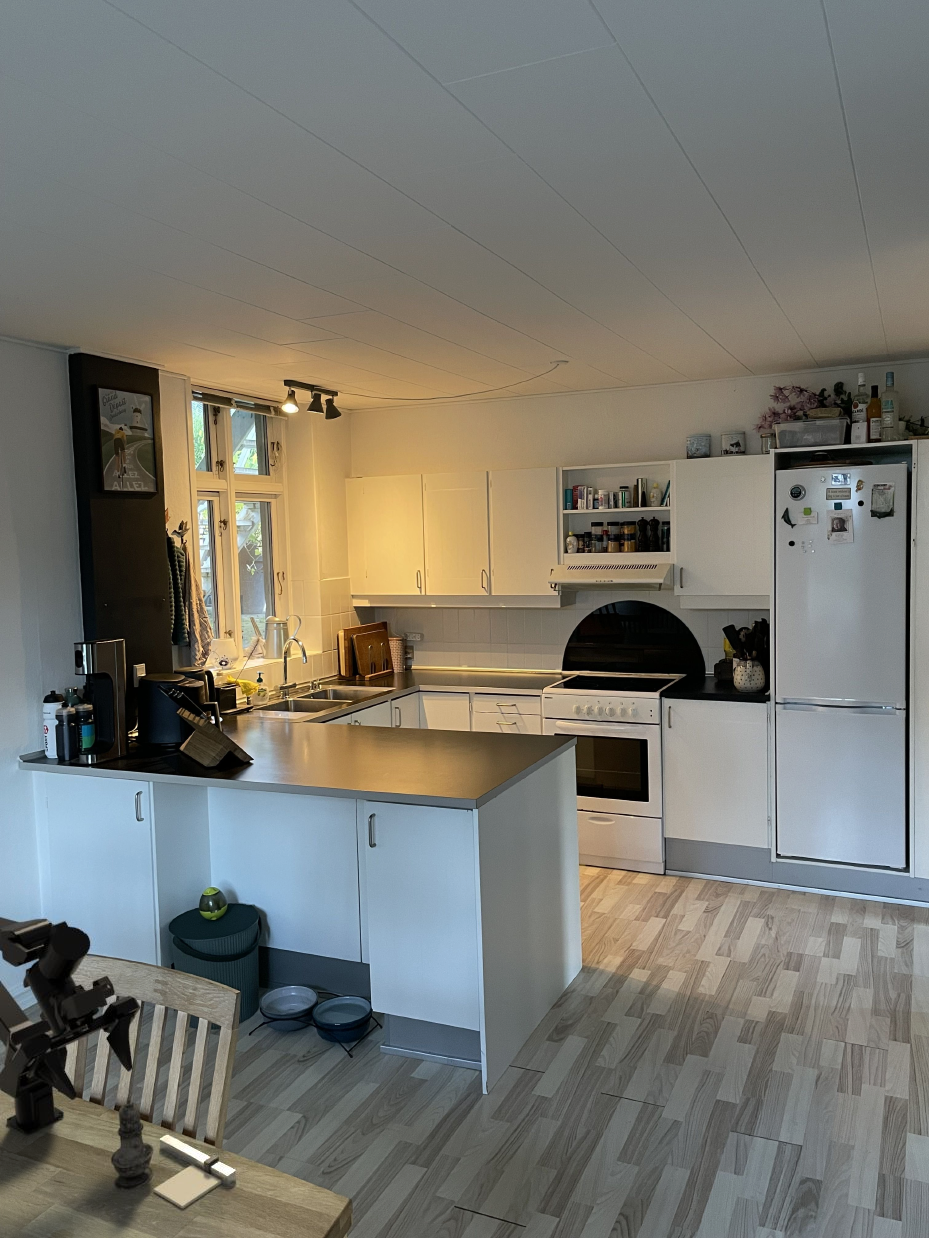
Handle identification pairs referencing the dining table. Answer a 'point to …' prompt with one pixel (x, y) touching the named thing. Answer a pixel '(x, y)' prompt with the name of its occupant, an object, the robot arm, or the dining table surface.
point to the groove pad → (187, 1186)
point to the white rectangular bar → (198, 1159)
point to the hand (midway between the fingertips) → (103, 1083)
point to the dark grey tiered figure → (131, 1150)
